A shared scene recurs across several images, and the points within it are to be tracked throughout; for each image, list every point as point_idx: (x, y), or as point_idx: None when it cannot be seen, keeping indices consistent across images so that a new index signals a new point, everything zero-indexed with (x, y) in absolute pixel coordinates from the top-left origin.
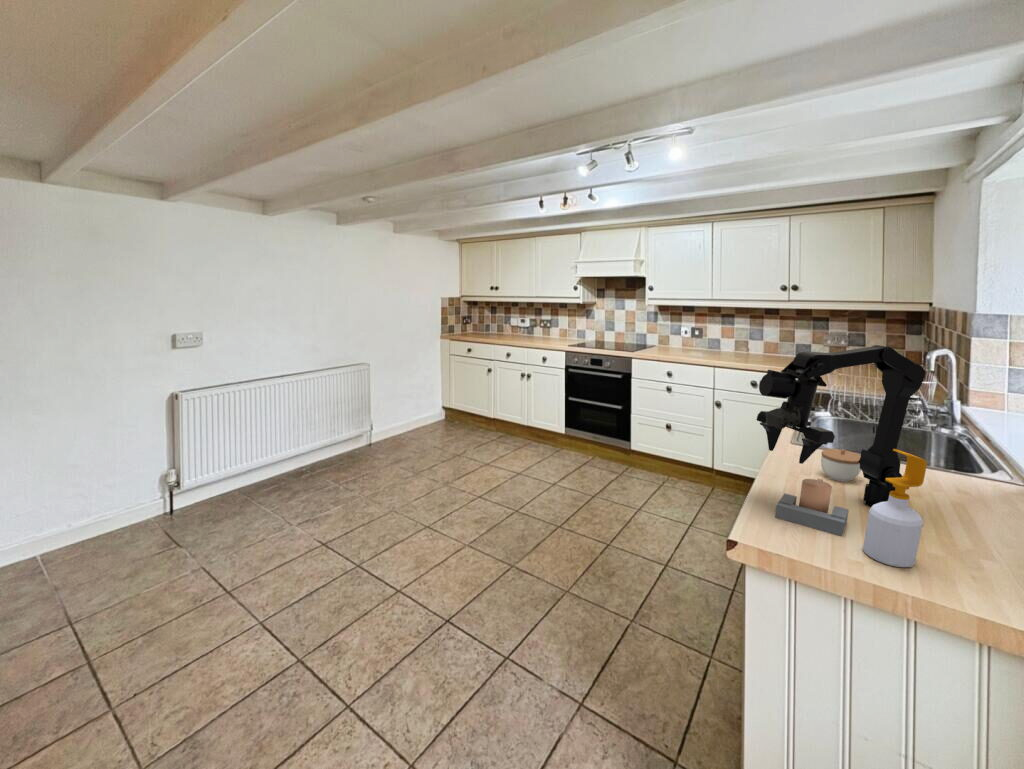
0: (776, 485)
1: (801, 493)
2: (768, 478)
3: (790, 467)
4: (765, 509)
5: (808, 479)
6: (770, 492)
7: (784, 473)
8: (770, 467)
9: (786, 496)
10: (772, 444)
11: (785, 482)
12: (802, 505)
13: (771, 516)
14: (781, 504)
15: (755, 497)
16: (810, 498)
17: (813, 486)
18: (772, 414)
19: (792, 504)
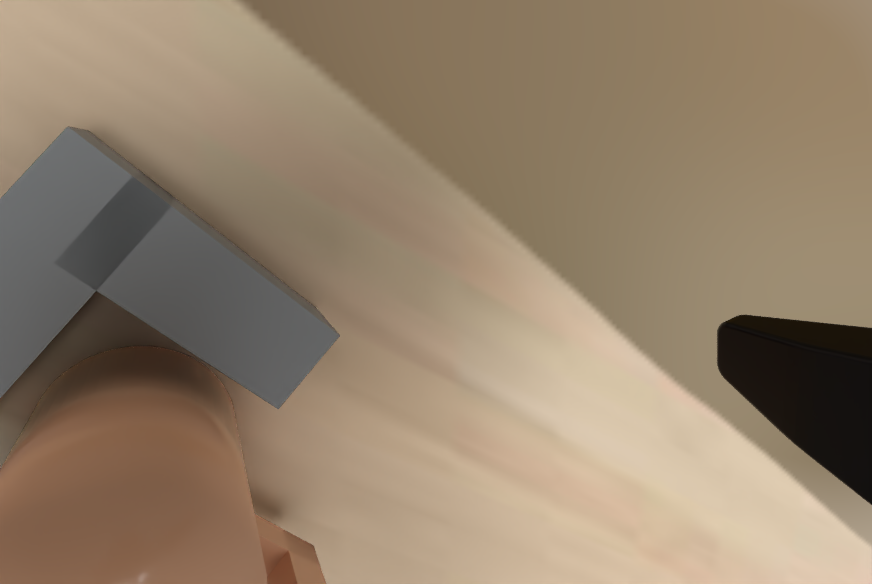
0: (589, 406)
1: (147, 420)
2: (671, 401)
3: (756, 566)
4: (242, 137)
5: (252, 575)
6: (506, 323)
7: (707, 512)
8: (774, 470)
9: (275, 322)
10: (824, 392)
11: (616, 473)
12: (109, 382)
13: (107, 111)
14: (81, 182)
15: (442, 177)
16: (16, 458)
17: (5, 561)
18: None
19: (90, 290)
